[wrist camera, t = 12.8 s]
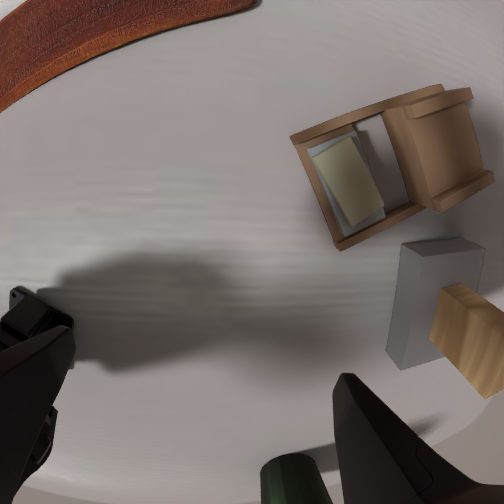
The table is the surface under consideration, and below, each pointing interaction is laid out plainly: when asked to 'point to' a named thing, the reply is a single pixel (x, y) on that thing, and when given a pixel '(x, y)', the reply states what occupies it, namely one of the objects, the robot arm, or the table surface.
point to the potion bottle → (292, 481)
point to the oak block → (471, 337)
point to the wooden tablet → (84, 34)
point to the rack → (408, 156)
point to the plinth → (427, 294)
